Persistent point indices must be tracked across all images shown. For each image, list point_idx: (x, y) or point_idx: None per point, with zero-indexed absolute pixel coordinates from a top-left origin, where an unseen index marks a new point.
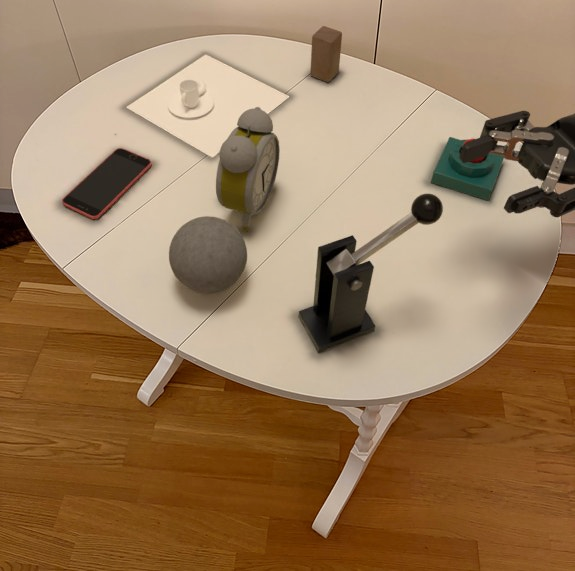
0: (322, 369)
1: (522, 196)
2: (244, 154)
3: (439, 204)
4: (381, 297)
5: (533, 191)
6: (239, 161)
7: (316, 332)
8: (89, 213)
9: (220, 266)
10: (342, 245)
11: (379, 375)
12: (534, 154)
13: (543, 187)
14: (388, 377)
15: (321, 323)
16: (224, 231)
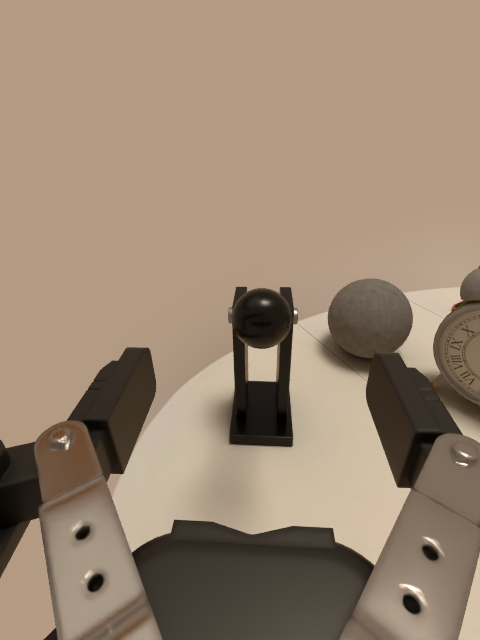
0: (218, 385)
1: (117, 362)
2: (476, 276)
3: (245, 304)
4: (274, 478)
5: (102, 396)
6: (466, 279)
7: (254, 384)
8: (458, 305)
9: (337, 301)
10: None
11: (176, 422)
12: (262, 545)
13: (80, 426)
14: (168, 428)
15: (263, 392)
16: (373, 294)
